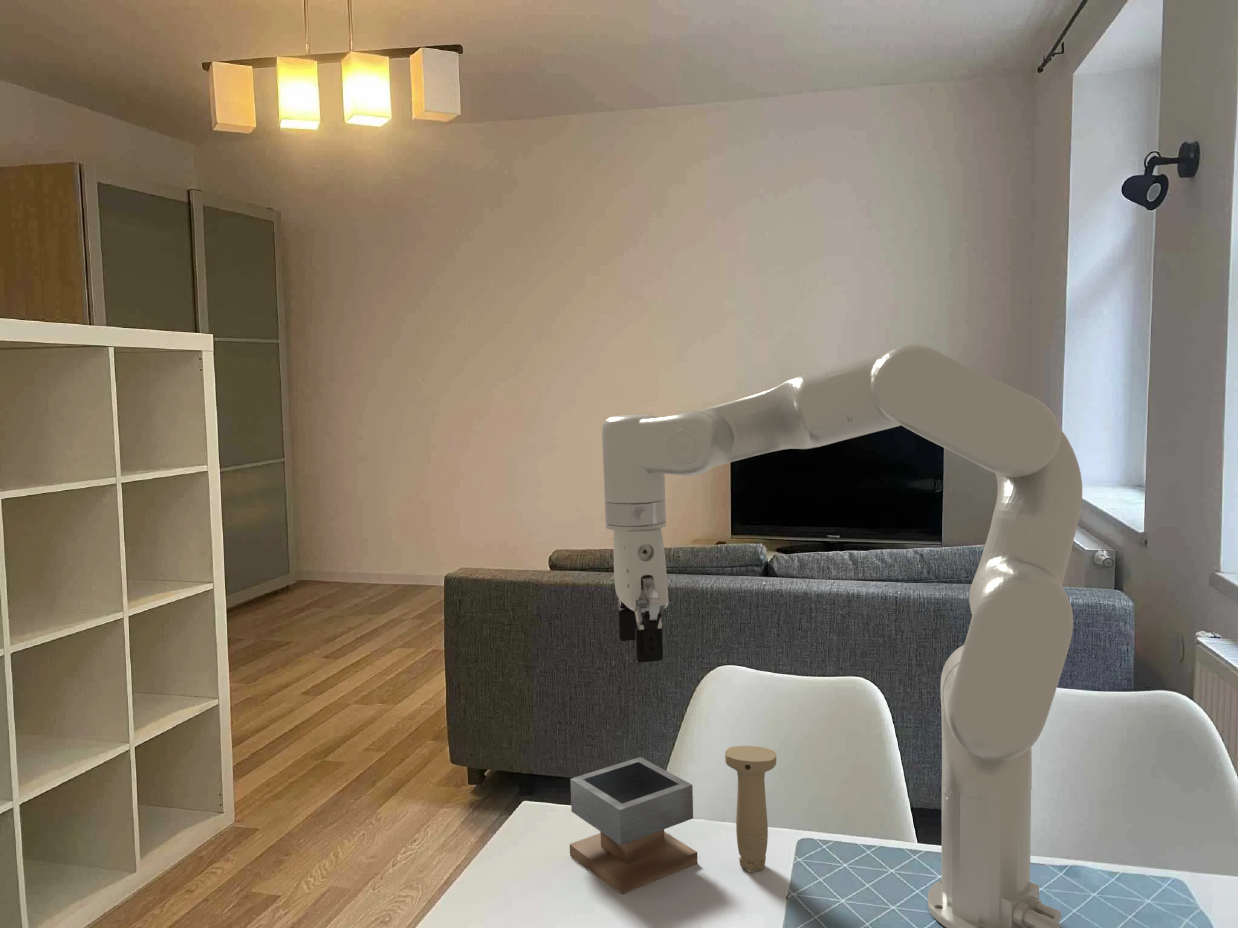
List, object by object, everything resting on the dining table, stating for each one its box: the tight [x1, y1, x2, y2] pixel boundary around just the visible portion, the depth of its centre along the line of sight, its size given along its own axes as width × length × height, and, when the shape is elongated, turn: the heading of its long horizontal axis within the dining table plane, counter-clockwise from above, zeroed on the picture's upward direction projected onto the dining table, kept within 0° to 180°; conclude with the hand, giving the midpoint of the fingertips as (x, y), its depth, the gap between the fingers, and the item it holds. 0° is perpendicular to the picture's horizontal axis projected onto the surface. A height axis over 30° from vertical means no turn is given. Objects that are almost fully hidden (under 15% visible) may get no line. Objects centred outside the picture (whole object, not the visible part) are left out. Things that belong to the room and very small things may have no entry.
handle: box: [724, 745, 777, 873], centre depth 119 cm, size 5×6×15 cm
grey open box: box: [569, 756, 694, 845], centre depth 122 cm, size 11×11×4 cm
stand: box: [569, 829, 699, 895], centre depth 122 cm, size 12×12×6 cm
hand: (640, 649), depth 117 cm, fingers open, 9 cm apart
